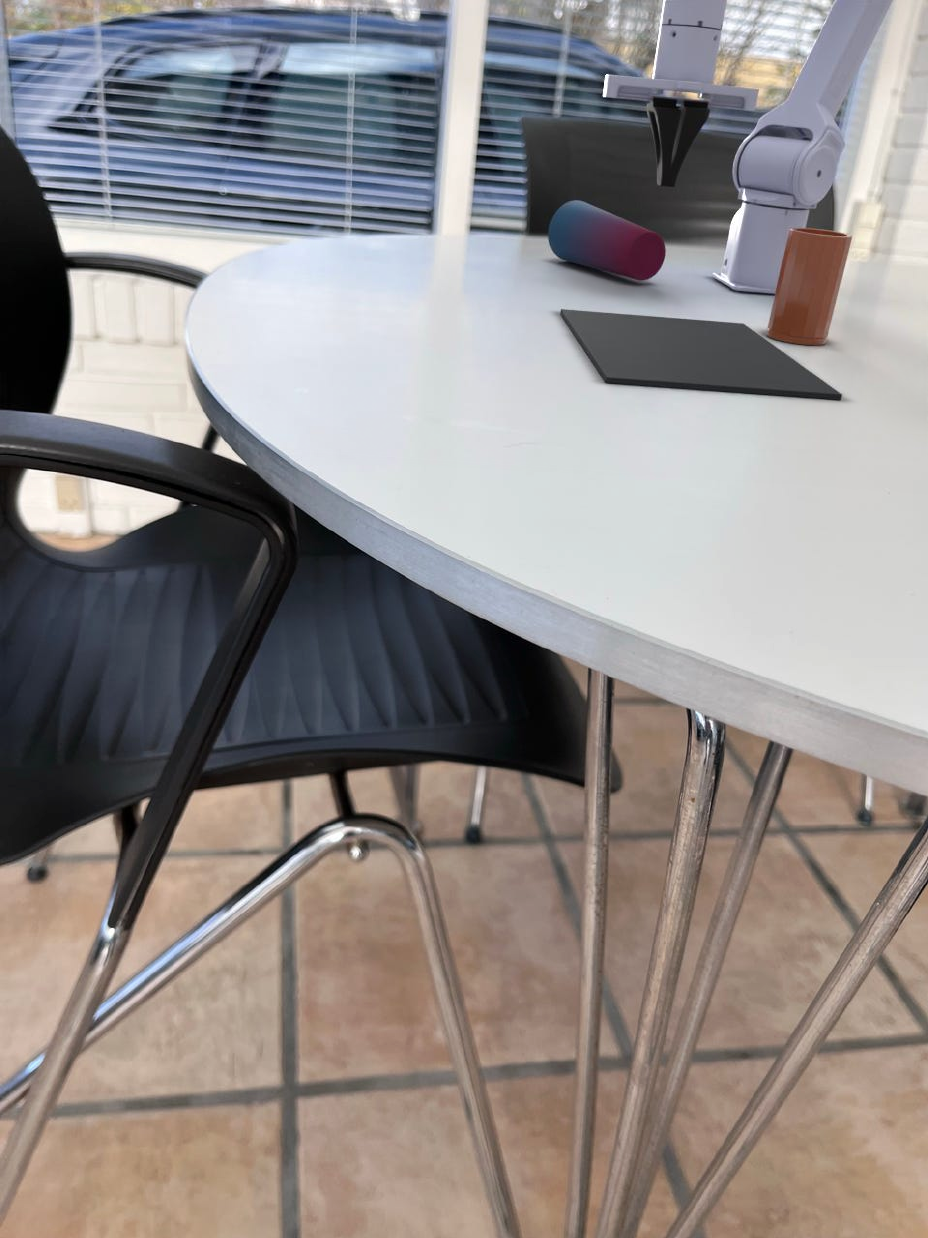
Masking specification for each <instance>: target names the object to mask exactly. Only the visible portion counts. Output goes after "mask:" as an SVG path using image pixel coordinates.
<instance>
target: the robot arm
mask: <svg viewBox="0 0 928 1238" xmlns="http://www.w3.org/2000/svg"><path fill="white" fill-rule="evenodd" d="M893 1H894V0H834V2H833V4H832V5H831V8H830V10H829V12H828V14H827V16H826V18H825V20H824V22H823V25H822V27H821V29H820V30H819V33H818V35H817V37H816V39H815V41H814V43H813V45H812V47H811V49H810V52H809V53H808V56H807V58H806V60H805V61H804V64H803V66H802V68H801V70H800V73H799V74H798V76H797V78H796V81H795V82H794V84H793V87H792V88H791V91H790V92H789V94H788V97H787V99H786V100H785V101H784V102H782V103H781V104H779V105H778V106H776V107H775V108H772V109H771V110H770V111H768V112H766V113H765V114H763V115H762V116H761V117H760V118H759V119H758V122H757V124H756V126H755V128H754V129H753V130H752V132H751V133H750V134H749V135H748V136H747V137H746V138H745V139H744V140H743V142H742V143H741V144H740V145H739V147H738V148H737V151H736V153H735V156H734V159H733V164H732V181H733V184H734V187H735V188H736V190H737V191H738V196H737V200H741V201H742V203H741V207H740V208H739V209H738V210H737V211H736V213H735V214H734V216H733V217H732V220H731V222H730V225H729V231H728V237H727V241H726V247H725V250H724V251H725V252H724V257H723V262H722V267H721V272H713V273H712V277H713V278H714V279H716V280H718V281H719V282H721V283H722V284H724V285H726V286H727V287H729V288H730V289H732V290H734V291H737V292H749V293H762V294H773V295H775V292H776V287H777V283H778V278H779V274H780V269H781V265H782V260H783V255H784V251H785V246H786V242H787V237H788V233H789V229H790V228H807V223H808V219H809V215H810V209H811V210H813V209H814V210H815V209H817V205H818V203H819V202H821V201H822V200H823V199H824V198H825V196H826V195H827V194H828V193H829V191H830V190H831V187H832V186H833V184H834V181H835V178H836V175H837V169H838V164H839V160H840V157H841V155H842V153H843V150H844V148H845V146H846V141H845V139H844V136H843V133H842V131H841V129H840V127H839V125H838V124H837V123H836V121H835V118H836V117H837V115H838V113H839V110H840V109H841V107H842V104H843V102H844V100H845V99H846V96H847V94H848V92H849V90H850V88H851V86H852V84H853V82H854V80H855V79H856V76H857V74H858V72H859V70H860V68H861V66H862V64H863V62H864V61H865V58H866V56H867V54H868V52H869V50H870V48H871V46H872V43H873V42H874V40H875V38H876V36H877V34H878V32H879V30H880V27H881V26H882V23H883V22H884V20H885V18H886V16H887V13H888V11H889V9H890V7H891V6H892V3H893ZM727 3H728V0H663V5H662V10H661V11H662V12H661V19H660V24H659V25H660V26H659V32H658V39H657V45H656V52H655V58H654V64H653V71H652V77H651V78H650V77H640V76H631V75H630V76H627V75H619V74H606V75H605V76H604V77H605V78H604V85H603V94H602V98H611V99H624V100H634V101H643V102H649V103H647V104H646V115H647V117H648V121H649V125H650V128H651V132H652V138H653V143H654V149H655V158H656V185H657V186H660V187H667V188H668V187H669V188H675V185H676V182H677V179H678V176H679V173H680V171H681V169H682V166H683V163H684V161H685V158H686V157H687V155H688V152H689V150H690V149H691V147H692V145H693V143H694V141H695V139H696V137H697V136H698V135H699V134H700V131H701V130H702V128H703V127H704V126H705V124H706V123H707V121H708V119H709V117H710V113H711V109H710V108H719V109H728V110H739V111H745V112H746V111H748V112H756V107H757V102H758V97H759V92H760V89H759V88H751V87H743V86H734V85H733V86H732V85H725V84H724V85H723V84H714V77H715V72H716V67H717V62H718V61H717V60H718V55H719V49H720V43H721V38H722V32H723V31H722V30H723V28H724V27H723V25H724V20H725V15H726V9H727ZM664 91H670V92H681V93H689V94H690V93H692V94H696V98H698V99H693V98H683V97H682V98H680V97H671V96H660V95H663V94H664ZM651 94H653V95H651ZM654 94H655V95H654ZM701 99H702V100H701ZM703 99H705V100H703ZM706 99H707V100H706Z"/></svg>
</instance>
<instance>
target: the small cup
mask: <svg viewBox="0 0 928 1238" xmlns="http://www.w3.org/2000/svg"><path fill="white" fill-rule="evenodd" d="M852 238H853V235H852V234H849V233H845V232H840V231H835V230H828V229H819V228H811V227H806V228H790V229H789V233H788V237H787V242H786V246H785V251H784V255H783V260H782V265H781V269H780V274H779V278H778V283H777V287H776V292H775V294H774V297H773V301H772V306H771V311H770V315H769V320H768V325H767V330H766V336H767V337H769V338H770V339H774V340H776V341H779V342H784V343H787V344H788V343H789V344H796V345H801V346H802V345H803V346H822V345H825V344H826V343H827V339H828V336H829V332H830V328H831V324H832V321H833V316H834V312H835V307H836V304H837V300H838V296H839V291H840V289H841V288H840V287H841V284H842V281H843V275H844V272H845V267H846V265H847V264H846V263H847V261H848V255H849V252H850V247H851V244H852Z"/></svg>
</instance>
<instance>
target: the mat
mask: <svg viewBox="0 0 928 1238" xmlns="http://www.w3.org/2000/svg"><path fill="white" fill-rule="evenodd" d="M559 313H560V315H561V316H562V319H563V320H564V322H565V323H566V324H567V326H568V327H569V329H570V331H571V332H572V333H573V335H574V336H575V338H576V339H577V341H578V342H579V344H580V345H581V347H582V348H583V351H584V352H585V353H586V355H587V356H588V358H589V359H590V360H591V362H592V364H593V365H594V366H595V368H596V369H597V371H598V373H599V374H600V375H601V377H602V378H603V380H604V381H605V383H606V384H620V385H633V386H646V387H658V388H660V387H661V388H673V389H685V390H687V389H688V390H701V391H715V392H727V393H728V392H730V393H741V394H756V395H770V396H782V397H784V396H785V397H796V398H797V397H799V398H808V399H809V398H812V399H822V400H823V399H826V400H838V401H841V400H842V397H843V393H841V392H839V391H838V390H837V389H835V388H834V387H832V386H831V385H830V384H828V383H827V382H826V381H824V380H823V379H821V378H820V377H818V376H817V375H816V374H814V373H813V372H812V371H811V370H809V369H808V368H806V367H805V366H803V365H802V364H801V363H799V362H798V361H796V360H795V359H794V358H792V357H791V356H789V355H788V354H786V353H785V352H784V351H783V350H781V349H780V348H778V347H777V346H776V345H774V344H772V342H770V341H769V340H767V339H766V338H765V337H763V336H762V335H760V334H759V333H757V331H755V330H753V329H752V328H750V327H749V326H748V325H746V324H745V323H741V322H731V321H730V322H728V321H716V320H704V319H691V318H679V317H667V316H655V315H653V316H652V315H642V314H641V315H639V314H629V313H615V312H614V313H613V312H602V311H592V310H591V311H589V310H576V309H565V308H560V312H559Z"/></svg>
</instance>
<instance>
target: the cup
mask: <svg viewBox="0 0 928 1238" xmlns="http://www.w3.org/2000/svg"><path fill="white" fill-rule="evenodd" d="M547 239H548V245H549V247H550V249H551V251H552V253H553V254H554V255H555V256H556V257H557V258H559V259H560V260H562V261H566V262H568V263H573V264H577V265H580V266H584V267H588V268H592V269H596V270H598V271H599V270H600V271H603V272H607V273H610V274H614V275H618V276H623V277H625V278H629V279H634V280H637V281H647V280H650V279H652V278H653V277H655V276H656V275H657V274H658V273H659V271H661V269H662V267H663V265H664V263H665V260H666V251H667V248H666V245H665V241H664V239H663V237H662V236H661V235H660V234H658V233H657V232H655V231H652V230H650V229H647V228H645V227H643V226H641V225H638V224H636V223H633V222H632V221H629V220H627V219H625V218H623V217H620V216H619V215H618V216H617V215H616V214H613V213H611V212H609V211H606V210H604V209H601V208H599V207H597V206H594V205H592V204H590V203H588V202H585V201H583V200H576V199H575V200H570V201H567V202H565V203H564V204H563V205H561V206H560V207H559V208H558V209H557V210H556V211H555V213H554V214H553V216H552V218H551V220H550V222H549V226H548V232H547Z"/></svg>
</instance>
